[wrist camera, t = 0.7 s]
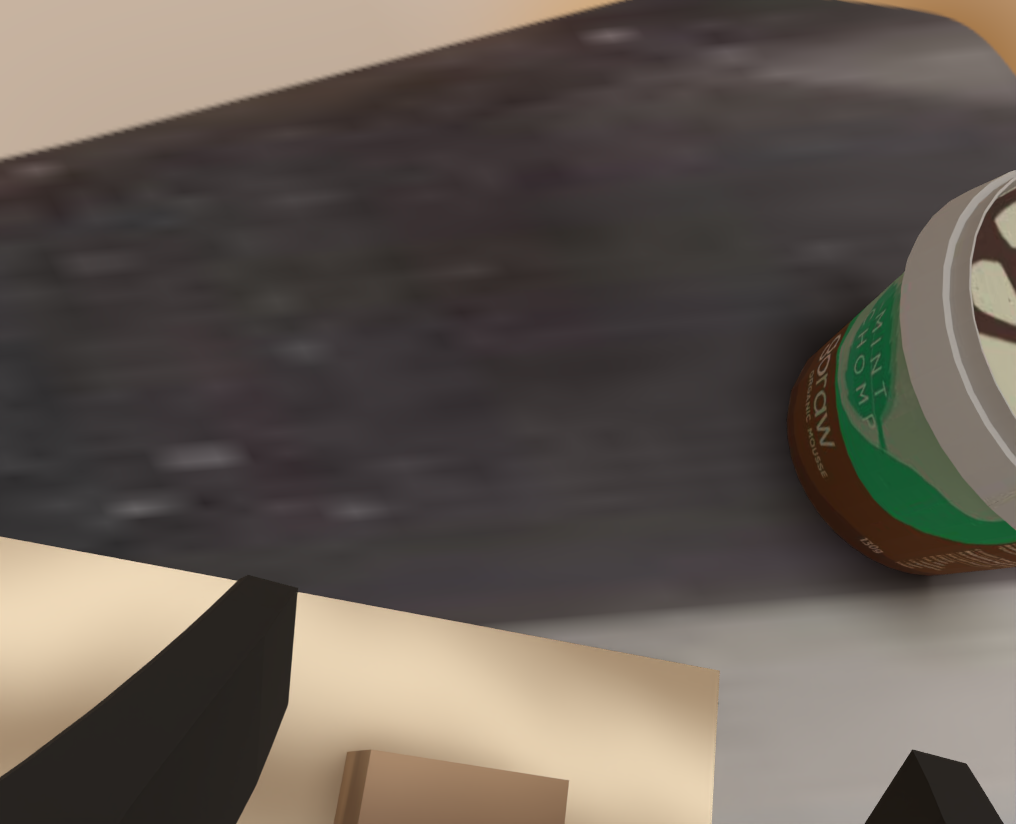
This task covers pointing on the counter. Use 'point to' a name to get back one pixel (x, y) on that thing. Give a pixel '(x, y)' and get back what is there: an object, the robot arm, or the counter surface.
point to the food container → (923, 402)
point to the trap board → (368, 691)
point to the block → (443, 793)
